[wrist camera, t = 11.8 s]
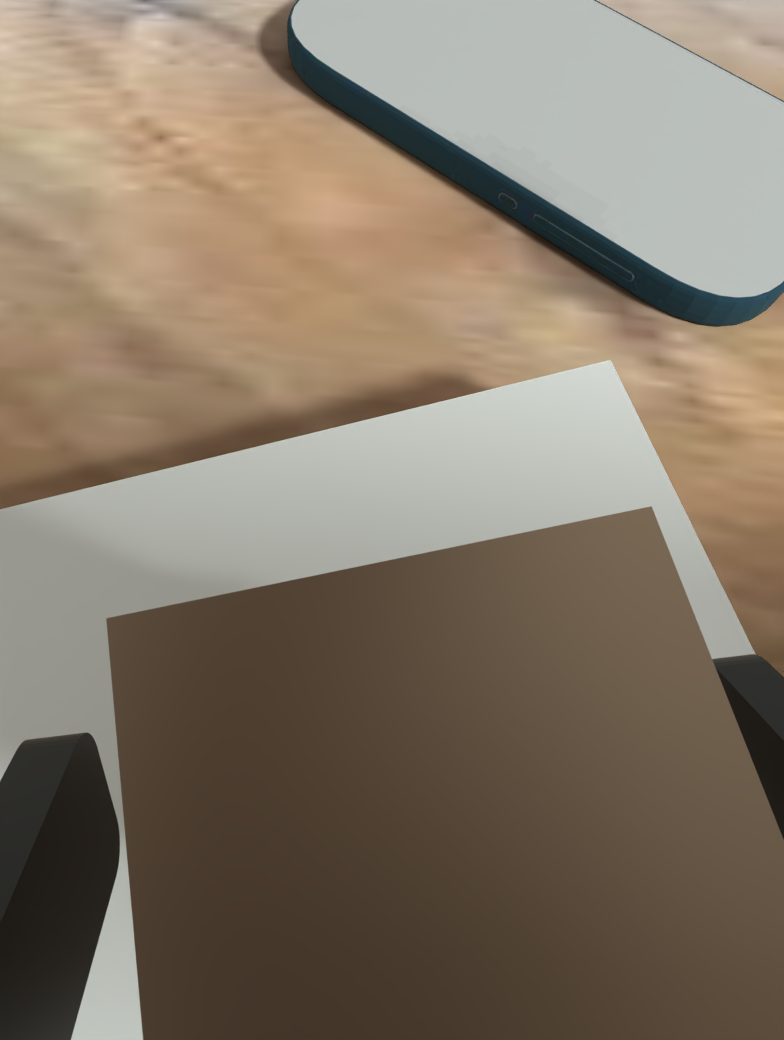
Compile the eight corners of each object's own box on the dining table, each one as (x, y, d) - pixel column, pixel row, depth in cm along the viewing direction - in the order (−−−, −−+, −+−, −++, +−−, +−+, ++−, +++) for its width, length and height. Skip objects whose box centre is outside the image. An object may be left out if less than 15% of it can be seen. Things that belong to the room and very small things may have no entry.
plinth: (572, 426, 25) (610, 359, 21) (876, 1100, 18) (1013, 1177, 14) (-28, 581, 22) (-107, 535, 18) (59, 1467, 15) (-39, 1687, 11)
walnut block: (459, 702, 17) (651, 505, 6) (513, 907, 16) (909, 1160, 4) (273, 745, 17) (105, 618, 5) (309, 963, 15) (175, 1414, 4)
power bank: (854, 193, 30) (887, 153, 28) (725, 367, 27) (753, 334, 25) (419, -48, 35) (423, -96, 33) (259, 71, 31) (252, 25, 30)
